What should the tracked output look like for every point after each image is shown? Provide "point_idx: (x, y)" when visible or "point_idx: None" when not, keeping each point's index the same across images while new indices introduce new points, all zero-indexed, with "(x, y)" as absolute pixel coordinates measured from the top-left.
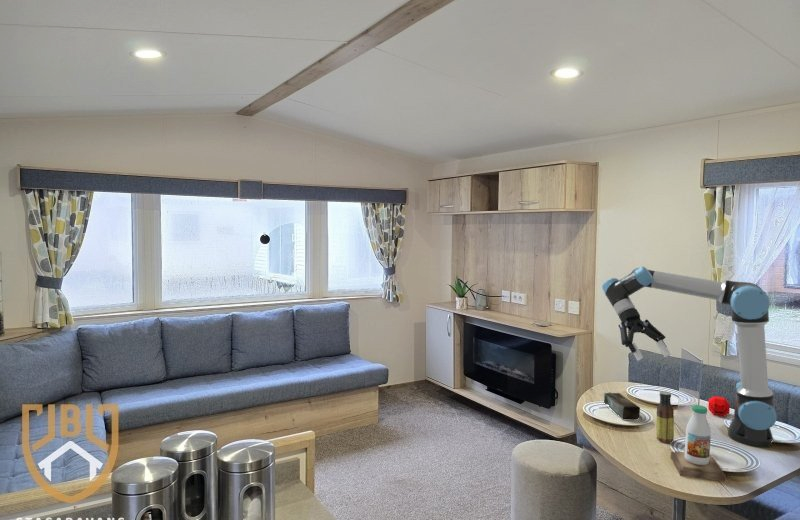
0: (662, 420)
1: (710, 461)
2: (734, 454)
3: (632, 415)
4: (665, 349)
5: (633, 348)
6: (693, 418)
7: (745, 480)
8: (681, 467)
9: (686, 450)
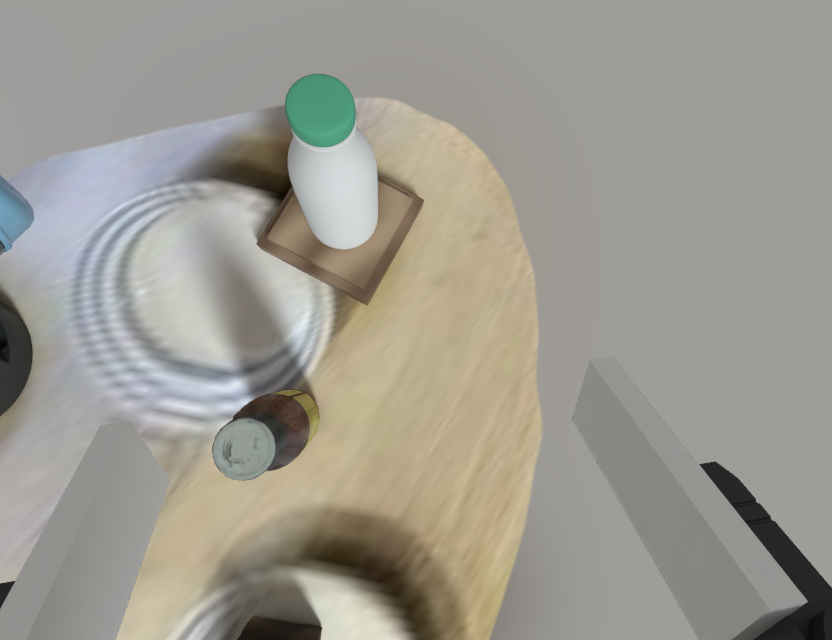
0: (306, 409)
1: None
2: (140, 274)
3: (279, 628)
4: (96, 511)
5: (740, 504)
6: (358, 139)
7: (260, 142)
8: (409, 211)
9: (377, 212)
